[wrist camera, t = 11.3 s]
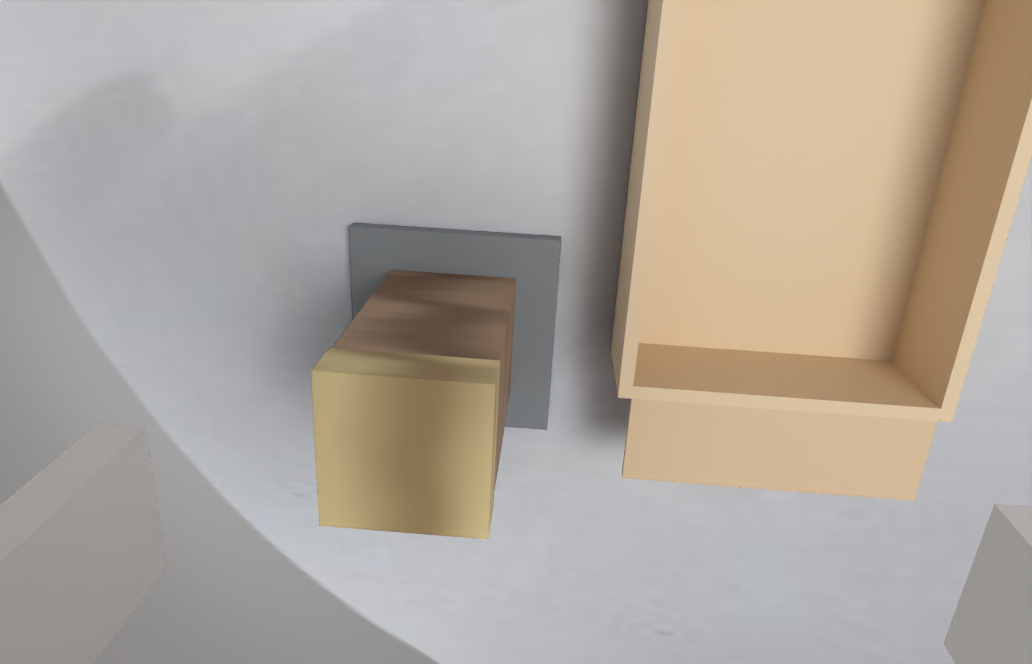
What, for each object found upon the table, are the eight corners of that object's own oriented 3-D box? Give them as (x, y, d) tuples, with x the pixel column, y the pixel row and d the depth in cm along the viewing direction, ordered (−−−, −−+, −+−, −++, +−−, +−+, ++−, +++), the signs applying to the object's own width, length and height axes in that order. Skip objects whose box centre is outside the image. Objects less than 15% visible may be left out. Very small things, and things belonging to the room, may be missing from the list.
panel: (353, 223, 36) (349, 226, 35) (561, 236, 35) (561, 240, 35) (359, 408, 39) (355, 415, 39) (547, 422, 39) (546, 429, 38)
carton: (682, -331, 27) (710, -417, 22) (1077, -317, 27) (1198, -401, 22) (603, 419, 39) (608, 476, 34) (879, 440, 38) (928, 501, 33)
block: (391, 383, 38) (319, 525, 27) (390, 268, 36) (310, 371, 24) (511, 392, 38) (488, 539, 26) (517, 277, 35) (495, 384, 24)
